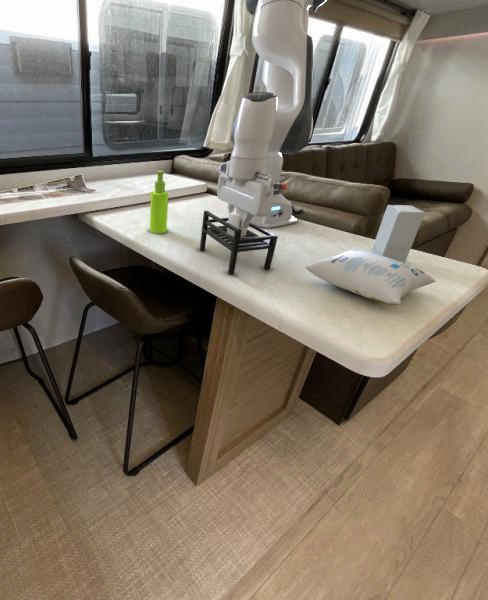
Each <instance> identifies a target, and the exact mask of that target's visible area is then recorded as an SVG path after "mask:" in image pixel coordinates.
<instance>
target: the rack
mask: <svg viewBox="0 0 488 600" xmlns="http://www.w3.org/2000/svg"><path fill="white" fill-rule="evenodd" d="M228 221H229V217H219V216H217V215H216V214H213V212H210V211H209V210H203V215H202V222H201V223H202V225H201V232H200V233H201V234H200V243H199V251H200V252H205V251H206V245H207V244H206V243H207V236H209V237H210V238H212V239H213V240H215V241H216V242H217V243H218V244H221V246H223V247H225V248H226V249H227V250H229V251H230V256H229V262H228V269H227V274H228V275H229V276H233V275H235V270H236V265H237V260H238V254H239V253H245V252H252V251H253V252H254V251H261V250H267V251H266V256H265V260H264V263H263V269H264V270H265V271H269V270H271V266H272V263H273V259H274V253H275V250H276V246H277V242H278V239H279V238H278V237H279V236H278V235H276V234H274V233H272V232H270V231H268V230H266V229H264V228H263V227H261V226H256V225H254V224H253V223H251V222H250V223H249V227H250V228H252V229H254V230H256V231H258V232H260V233H261V234H263V235H262V236H260V235H258V234H257V233H256V232H253V231H252V230H250V229H248V228H247V233H246V236H243V237H241V232H242V230H241V229H238V228H236V227H234V226H233V225H231V224H229V223H228ZM214 223H219V224H221V225H215V224H214ZM227 228H229V229H231V230H233V231H234V237H233V236H231V235H230V234H228V233H227Z"/></svg>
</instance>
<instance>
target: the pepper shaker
mask: <svg viewBox="0 0 488 600" xmlns="http://www.w3.org/2000/svg"><path fill="white" fill-rule="evenodd" d="M234 208H235V209H234V212H232V213H230V214H229V213H228V218H229V221H227V222H228V223H229V224H231V225H233V226H234V227H236V228H238V229H241V230H242V232H241V237H243V236H246V233H247V229H248V228H243V227H241V226H240V222H241V220H243V219H244V217H245V215H244V210H242V209H239V208H237V207H234ZM227 233H228V234H230V235H231V236H233V237H234V231H233V230H231V229H229V228H227ZM243 238H244V237H243Z"/></svg>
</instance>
